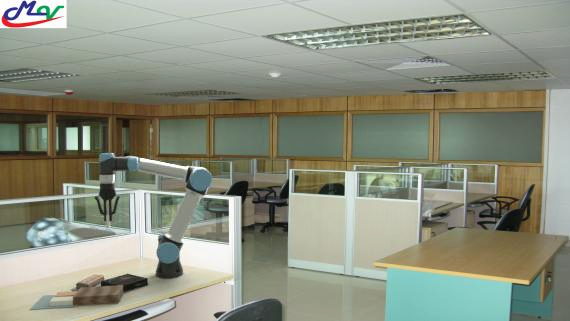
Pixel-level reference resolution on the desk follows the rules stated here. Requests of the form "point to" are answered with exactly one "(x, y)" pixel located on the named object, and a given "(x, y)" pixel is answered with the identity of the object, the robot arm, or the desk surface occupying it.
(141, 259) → the desk surface
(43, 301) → the mat
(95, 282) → the packaged product
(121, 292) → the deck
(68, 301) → the ivory card
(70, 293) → the terracotta card
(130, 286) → the portable cd player
